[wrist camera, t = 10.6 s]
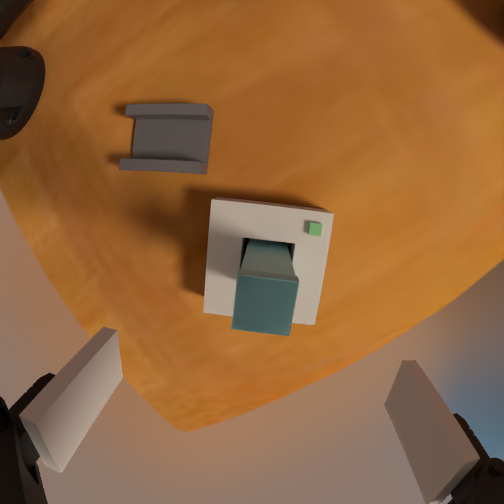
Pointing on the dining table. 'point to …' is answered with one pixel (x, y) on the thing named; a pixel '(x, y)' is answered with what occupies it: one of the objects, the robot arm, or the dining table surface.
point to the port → (274, 229)
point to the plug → (265, 289)
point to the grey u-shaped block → (170, 137)
